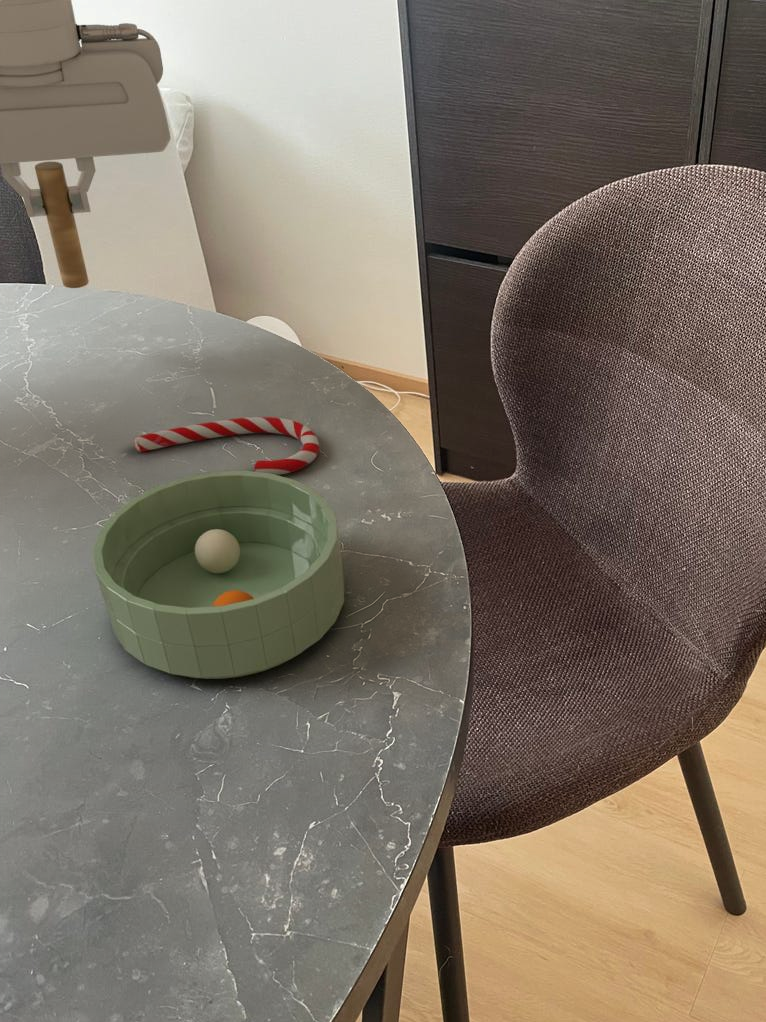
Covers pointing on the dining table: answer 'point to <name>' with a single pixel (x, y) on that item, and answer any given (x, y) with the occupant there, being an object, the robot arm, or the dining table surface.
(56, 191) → the stirring stick
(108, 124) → the robot arm
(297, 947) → the dining table surface
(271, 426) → the candy cane
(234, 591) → the orange ball
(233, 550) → the cream ball
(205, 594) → the bowl
